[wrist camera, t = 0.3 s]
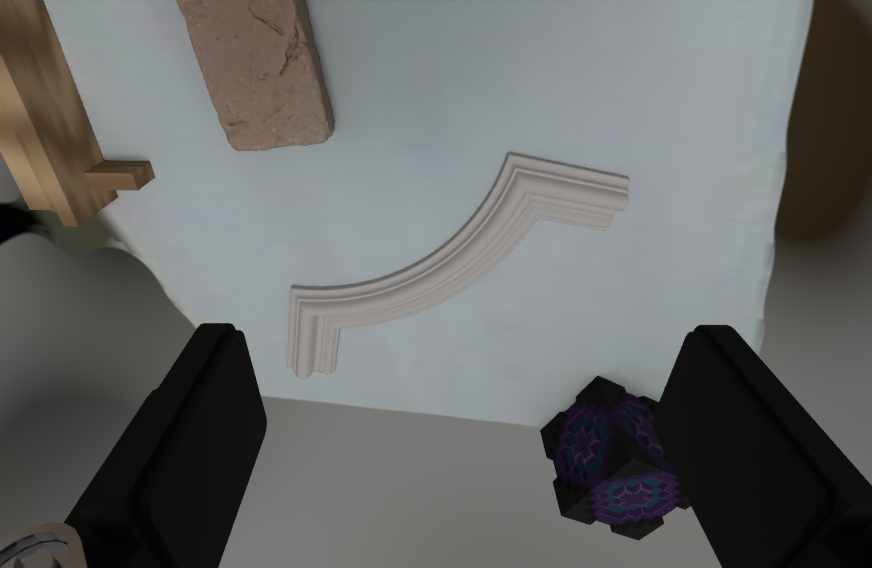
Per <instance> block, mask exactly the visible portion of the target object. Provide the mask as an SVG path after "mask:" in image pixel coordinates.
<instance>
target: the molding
mask: <svg viewBox="0 0 872 568" xmlns="http://www.w3.org/2000/svg"><path fill="white" fill-rule="evenodd" d="M629 181H630V179H629V178H628V177H627V176H622V175H617V174H612V173H607V172H603V171H598V170H593V169H588V168H583V167H579V166H574V165H569V164H564V163H559V162H555V161H550V160H545V159H540V158H535V157H530V156H526V155H521V154H516V153H511V152H508V154H507V156H506V159H505V162H504V164H503V167H502V169H501V171H500V173H499V175H498V177H497V179H496V181H495V183H494V185H493V187H492V189H491V190H490V192H489V194H488V195H487V197H486V198H485V200H484V201H483V203H482V204H481V206H480V207H479V209H478V210H477V211H476V212H475V214H474V215H473V216H472V217H471V219H470V220H469V221H468V222H467V223H466V224H465V225H464V226H463V227H462V228H461V229H460V230H459V232H458V233H456V234H455V235H454V236H453V237H452V238H451V239H450V240H449V241H448V242H446V243H445V244H444V245H443V246H441V247H440V248H439V249H437V250H436V251H435V252H433V253H432V254H430V255H429V256H427V257H425V258H424V259H422V260H420V261H419V262H417V263H415V264H413V265H411V266H409V267H407V268H405V269H403V270H400V271H398V272H395V273H393V274H390V275H388V276H384V277H381V278H378V279H375V280H371V281H366V282H362V283H357V284H350V285H342V286H327V287H315V286H298V285H292V287H291V295H290V318H289V341H288V364H287V367H288V368H292V369H293V372H295V373H296V376H297V377H298V378H300V379H306V378H308V377H309V376H310V375H311V374H312V373H313V371H319V372H320V373H325V374H330V373H334V372H335V365H336V357H337V349H338V341H339V333H340V328H350V327H360V326H367V325H373V324H378V323H383V322H387V321H391V320H395V319H399V318H402V317H406V316H409V315H412V314H415V313H417V312H420V311H423V310H425V309H428V308H430V307H432V306H434V305H436V304H439V303H441V302H443V301H445V300H447V299H449V298H450V297H452V296H454V295H456V294H457V293H459V292H461V291H462V290H464V289H466V288H467V287H469V286H470V285H472V284H473V283H475V282H476V281H477V280H479V279H480V278H481V277H483V276H484V275H485V274H487V273H488V272H489V271H490V270H491V269H493V268H494V267H495V266H496V265H497V264H498V263H499V262H500V261H502V260H503V259H504V258H505V257H506V256H507V255H508V254H509V253H510V252H511V251H512V250H513V249H514V247H515V246H516V245H517V244H518V243H519V242H520V241H521V240H522V238H523V237H524V236H525V235H526V234H527V232H528V231H529V230H530V228H531V227H532V226H533V224H534V223H535V222H536V220H537V219H538V218H541V219H546V220H551V221H557V222H562V223H567V224H572V225H578V226H583V227H588V228H594V229H599V230H604V231H605V230H606V229H607V228H609V227H610V225H611V220H612V219H613V215H614V212H615V211H616V210H618V211H623V210H624V209H625V208H626V207H627V204H628V199H629V198H628V194H627V193H628V183H629Z"/></svg>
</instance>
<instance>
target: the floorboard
mask: <svg viewBox="0 0 872 568" xmlns="http://www.w3.org/2000/svg"><path fill="white" fill-rule="evenodd" d="M0 151H1V153H2V155H3V157H4V159H5V161H6V163H7V165H8V167H9V169H10V171H11V173H12V175H13V177H14V179H15V181H16V183H17V185H18V187H19V189H20V191H21V193H22V195H23V197H24V199H25V201H26V203H27V205H28V207H29V209H30V210H52V212H57V213H58V215H59V217H60V219H61V222H62V224H63V226H80V225H81V224H82V223H84V222H85V221H86V220H88V219H89V218H90V217H92V216H93V215H95V214H96V213H97V212H99V211H100V210H101V209H103V208H104V207H105V206H107V205H108V204H109V203H111V202H112V201H114V200H115V199H116V198H118V195H117V193H116V190H139V189H140V188H142V187H143V186H144V185H146V184H147V183H148V182H150V181H151V180H152V179H154V178H155V176H154V173H153V170H152V167H151V164H150V161H104V159H103V156H102V154H101V151H100V148H99V146H98V143H97V140H96V138H95V135H94V133H93V130H92V127H91V125H90V122H89V120H88V117H87V114H86V112H85V109H84V107H83V104H82V101H81V99H80V96H79V93H78V91H77V88H76V86H75V83H74V80H73V78H72V75H71V73H70V70H69V67H68V65H67V62H66V59H65V57H64V54H63V52H62V49H61V46H60V44H59V41H58V39H57V36H56V33H55V31H54V28H53V26H52V23H51V20H50V18H49V15H48V12H47V10H46V7H45V5H44V2H43V0H0Z"/></svg>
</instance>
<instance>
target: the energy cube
mask: <svg viewBox="0 0 872 568" xmlns="http://www.w3.org/2000/svg"><path fill="white" fill-rule="evenodd" d="M576 400H577V403H576V404H575V405H574V406H573V407H572V408H571V409H570V410H569V411H568V412H567V413H566V414H565V413H562V412H559V413H558V414H557V415H556V416H555V417H554V418H553V419H552V420H551V421H550V422H549V423H548V424H547V425H546V426H545V427H544V428H542V429H541V430H540V432H541V436H542V440H543V444H544V448H545V452H546V456H547V458H548V459H551V460H553V462H554V466H555V470H556V474H557V478H556V479H555V480H554V481H553V485H554V489H555V493H556V497H557V501H558V505H559V509H560V513H561V516H563V517H567V518H570V519H573V520H576V521H579V522H583V523H585V524H589V525H591V524H592V523H594V522H595V521H599V522H603V523H605V524H608V525H610V528H611V531H612V532H614V533H617V534H620V535H623V536H626V537H629V538H633V539H636V540H640V539H642V538H643V537H645V536H646V535H648V534H649V533H651V532H652V531H654V530H655V529H657V528H658V527H660V526H661V525H663V524H664V521H663V516H664V515H666V514H667V513H669V512H670V511H672V510H673V509H675V508H676V507H679V508H682V509H685V510H686V509H687V508H689V507H690V506H691V504H690V502H689V500H688V498H687V496H686V494H685V492H684V491H683V489H682V487H681V485H680V483H679V481H678V479H677V477H676V475H675V473H674V471H673V469H672V467H671V465H670V463H669V461H668V459H667V457H666V455H665V453H664V451H663V449H662V447H661V445H660V443H659V441H658V439H657V437H656V435H655V432H654V429H653V417H654V414H655V411H656V409H657V406H658V404H659V402H657V401H654V400H652V399H650V398H648V397H645V396H642V397H641V398H640V399H638V398H635V397H633V396H631V395H629V394H626V390H625V388H624V387H623V386H620V385H618V384H616V383H613V382H611V381H609V380H607V379H604V378H602V377H600V376H597V377H596V378H595V379H594V380H593V381H592V382H590V383H589V384H588V385H587V386H586V387H585V388H584V389H583V390H582V391H581V392H580V393H579V394H578V395H577V396H576Z"/></svg>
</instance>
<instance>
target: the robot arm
mask: <svg viewBox="0 0 872 568" xmlns="http://www.w3.org/2000/svg"><path fill="white" fill-rule="evenodd" d="M266 427H267V419H266V414H265V410H264V407H263V403H262V399H261V395H260V392H259V388H258V384H257V381H256V377H255V373H254V369H253V366H252V362H251V358H250V355H249V351H248V347H247V343H246V340H245V336H244V333H243V332H242V331H240V330H236V329H235V327H234V326H233V324H230V323H203V324H201V325H200V326H199V327H198V328H197V329H196V331H195V332H194V334H193V335H192V337H191V339H190V340H189V342H188V343H187V345H186V346H185V348H184V349H183V351H182V353H181V354H180V355H179V357H178V359H177V360H176V362H175V363H174V365H173V366H172V368H171V369H170V371H169V372H168V374H167V375H166V377H165V378H164V380H163V381H162V383H161V384H160V386H159V388H157V389H155V390H154V391H152V392H151V394H150V395H149V396H148V397H147V398H146V400H145V402H144V403H143V404H142V406H141V407H140V409H139V410H138V412H137V413H136V415H135V416H134V418H133V419H132V421H131V422H130V424H129V426H128V427H127V429H126V430H125V431H124V433H123V434H122V436H121V438H120V439H119V440H118V442H117V443H116V445H115V446H114V448H113V450H112V451H111V452H110V454H109V455H108V457H107V459H106V460H105V462H104V463H103V465H102V466H101V467H100V469H99V470H98V472H97V473H96V475H95V476H94V478H93V480H92V481H91V482H90V484H89V486H88V487H87V488H86V490H85V491H84V493H83V495H82V496H81V497H80V499H79V501H78V502H77V504H76V505H75V507H74V508H73V510H72V511H71V513H70V514H69V516H68V517H67V519H66V520H65V522H64V523H56V522H55V523H54V522H48V523H43V524H38V525H34V526H31V527H28V528H26V529H24V530H21V531H19V532H16V533H14V534H13V535H11V536H9V537H8V538H6V539H5V540H3V541H1V542H0V568H218V567H219V564H220V561H221V558H222V555H223V552H224V550H225V546H226V544H227V541H228V538H229V535H230V533H231V530H232V527H233V524H234V521H235V518H236V516H237V513H238V510H239V507H240V504H241V501H242V499H243V496H244V493H245V490H246V487H247V484H248V482H249V479H250V476H251V473H252V470H253V467H254V465H255V462H256V459H257V456H258V453H259V450H260V448H261V445H262V442H263V439H264V436H265V433H266ZM653 429H654V432H655V435H656V437H657V439H658V441H659V443H660V445H661V447H662V449H663V451H664V453H665V455H666V457H667V459H668V461H669V463H670V465H671V467H672V469H673V471H674V473H675V475H676V477H677V479H678V481H679V483H680V485H681V487H682V489H683V491H684V492H685V494H686V496H687V498H688V500H689V502H690V504H691V506H692V508H693V510H694V512H695V514H696V516H697V518H698V520H699V522H700V524H701V526H702V528H703V530H704V532H705V534H706V536H707V538H708V540H709V542H710V544H711V546H712V548H713V550H714V552H715V554H716V556H717V558H718V560H719V562H720V564H721V566H722V568H872V486H871V484H870V483H869V482H868V481H867V480H866V479H865V478H864V476H863V475H862V474H861V473H860V472H859V471H858V470H857V469H856V467H855V466H854V465H853V464H852V463H851V462H850V461H849V459H848V458H847V457H846V456H845V455H844V454H843V453H842V451H841V450H840V449H839V448H838V447H837V446H836V444H835V443H834V442H833V441H832V440H831V439H830V438H829V436H828V435H827V434H826V433H825V432H824V431H823V430H822V429H821V428H820V426H819V425H818V424H817V423H816V422H815V421H814V419H813V418H812V417H811V416H810V415H809V414H808V413H807V411H806V410H805V409H804V408H803V407H802V406H801V405H800V404H799V402H798V401H797V400H796V399H795V398H794V397H793V395H792V394H791V393H790V392H789V391H788V390H787V389H786V388H785V386H784V385H783V384H782V383H781V382H780V381H779V380H778V378H777V377H776V376H775V375H774V374H773V373H772V371H771V370H770V369H769V368H768V367H767V366H766V365H765V364H764V362H763V361H762V360H761V359H760V358H759V357H758V356H757V354H756V353H755V352H754V351H753V350H752V349H751V348H750V346H749V345H748V344H747V343H746V342H745V341H744V340H743V338H742V337H741V336H740V335H739V334H738V333H737V332H736V330H735V329H734V328H732V327H731V326H728V325H699V326H697V327H696V328H695V329H694V331H693V332H689V333H688V334H687V336H686V337H685V340H684V342H683V345H682V347H681V350H680V352H679V355H678V357H677V360H676V362H675V364H674V367H673V369H672V372H671V374H670V377H669V379H668V382H667V384H666V387H665V389H664V392H663V394H662V397H661V399H660V401H659V404H658V406H657V409H656V411H655V414H654V417H653Z"/></svg>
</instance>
